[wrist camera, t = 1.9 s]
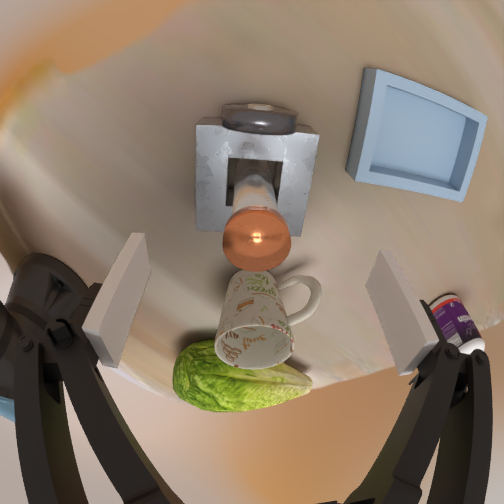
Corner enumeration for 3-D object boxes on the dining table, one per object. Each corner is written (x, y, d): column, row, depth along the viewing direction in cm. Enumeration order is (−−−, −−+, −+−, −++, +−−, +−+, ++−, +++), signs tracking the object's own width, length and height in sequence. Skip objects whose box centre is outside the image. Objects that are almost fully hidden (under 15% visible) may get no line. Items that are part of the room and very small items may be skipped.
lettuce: (288, 410, 50) (324, 426, 39) (164, 395, 43) (172, 417, 32) (298, 354, 54) (337, 358, 43) (177, 331, 47) (188, 333, 36)
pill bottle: (463, 298, 40) (498, 359, 29) (434, 327, 45) (462, 388, 33) (445, 286, 38) (484, 355, 26) (413, 318, 42) (443, 387, 31)
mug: (206, 278, 36) (197, 343, 28) (294, 231, 32) (311, 293, 24) (244, 315, 40) (244, 376, 32) (324, 277, 36) (343, 339, 28)
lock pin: (231, 186, 28) (221, 269, 18) (233, 148, 26) (223, 213, 15) (270, 188, 29) (285, 273, 18) (274, 151, 26) (296, 217, 16)
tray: (345, 170, 27) (354, 181, 25) (363, 68, 21) (376, 68, 19) (449, 191, 28) (462, 202, 26) (471, 110, 22) (487, 116, 19)
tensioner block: (201, 210, 30) (192, 245, 25) (204, 98, 23) (191, 106, 18) (294, 216, 31) (304, 251, 25) (312, 107, 24) (331, 118, 18)
